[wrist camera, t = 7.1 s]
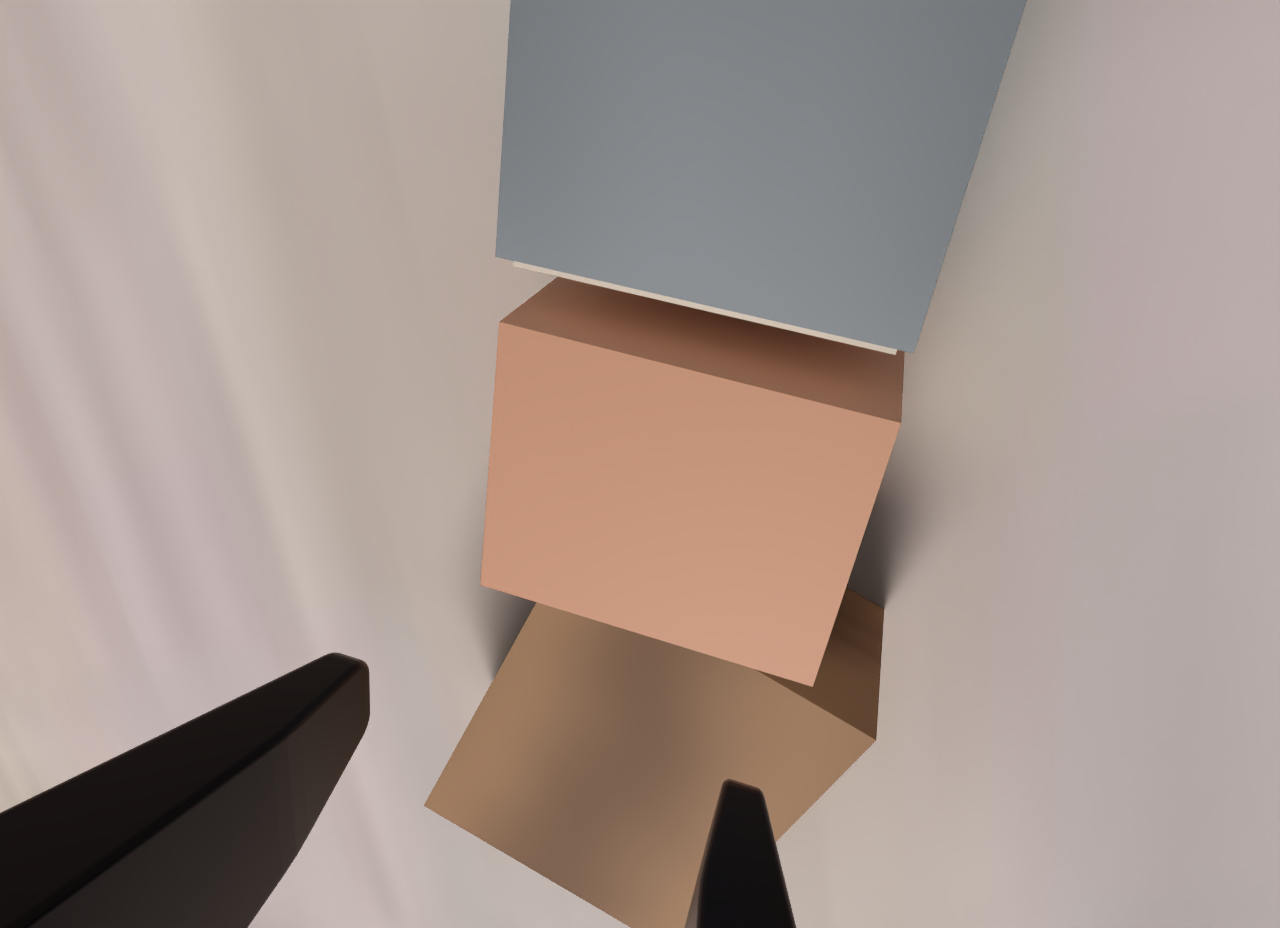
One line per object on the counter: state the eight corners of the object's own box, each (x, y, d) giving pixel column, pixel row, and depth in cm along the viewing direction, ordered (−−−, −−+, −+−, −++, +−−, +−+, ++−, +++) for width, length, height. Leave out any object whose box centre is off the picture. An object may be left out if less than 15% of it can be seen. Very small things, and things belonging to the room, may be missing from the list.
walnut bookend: (884, 603, 21) (876, 739, 17) (707, 807, 26) (669, 950, 22) (628, 453, 21) (561, 556, 17) (498, 684, 26) (423, 805, 22)
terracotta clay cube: (906, 297, 17) (900, 423, 12) (838, 514, 20) (810, 693, 15) (616, 231, 18) (499, 321, 13) (587, 446, 21) (479, 591, 16)
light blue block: (1006, -57, 14) (1054, -86, 9) (913, 253, 17) (910, 362, 12) (653, -110, 15) (520, -164, 10) (615, 189, 18) (494, 266, 13)
